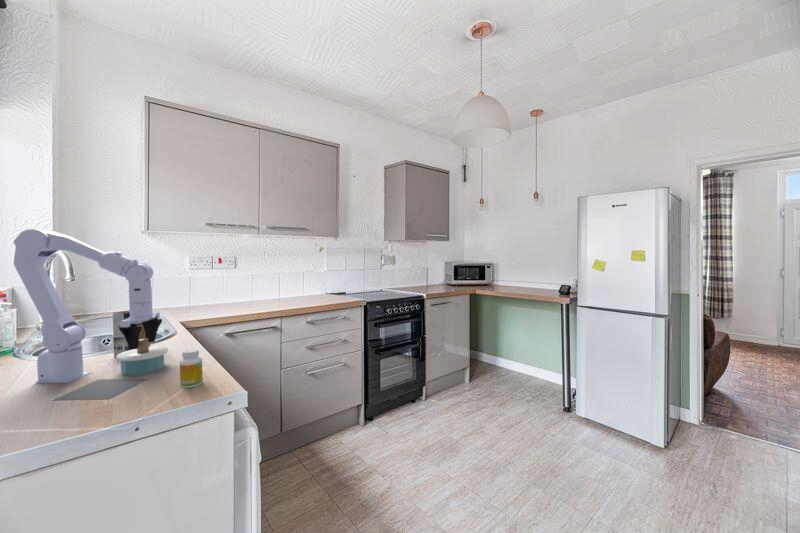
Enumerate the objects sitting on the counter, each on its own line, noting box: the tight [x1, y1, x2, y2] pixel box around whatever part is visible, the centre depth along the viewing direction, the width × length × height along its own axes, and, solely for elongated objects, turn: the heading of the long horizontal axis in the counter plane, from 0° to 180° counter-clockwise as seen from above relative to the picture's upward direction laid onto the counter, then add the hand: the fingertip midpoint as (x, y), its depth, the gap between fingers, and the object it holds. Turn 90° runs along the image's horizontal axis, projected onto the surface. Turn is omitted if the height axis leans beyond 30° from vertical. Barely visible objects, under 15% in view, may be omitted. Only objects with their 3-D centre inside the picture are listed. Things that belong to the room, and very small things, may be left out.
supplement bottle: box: [179, 348, 204, 389], centre depth 98 cm, size 5×5×10 cm
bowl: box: [120, 354, 165, 376], centre depth 110 cm, size 11×11×5 cm
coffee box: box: [112, 309, 151, 358], centre depth 127 cm, size 9×6×16 cm
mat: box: [53, 378, 148, 401], centre depth 94 cm, size 14×14×1 cm
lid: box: [115, 338, 169, 362], centre depth 110 cm, size 13×13×5 cm
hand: (142, 345), depth 110 cm, fingers open, 7 cm apart
